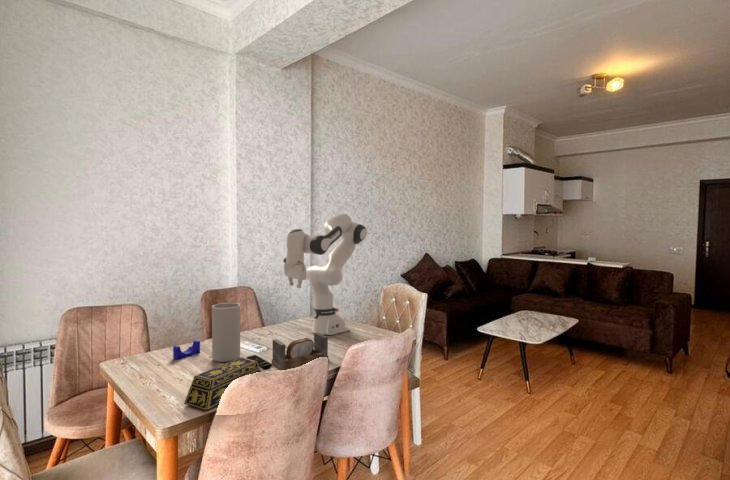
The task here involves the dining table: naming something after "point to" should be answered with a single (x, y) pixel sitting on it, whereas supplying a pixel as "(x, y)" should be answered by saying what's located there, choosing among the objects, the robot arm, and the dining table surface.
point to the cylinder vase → (225, 332)
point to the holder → (284, 362)
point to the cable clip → (190, 351)
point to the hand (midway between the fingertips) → (295, 286)
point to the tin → (300, 348)
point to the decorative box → (217, 382)
